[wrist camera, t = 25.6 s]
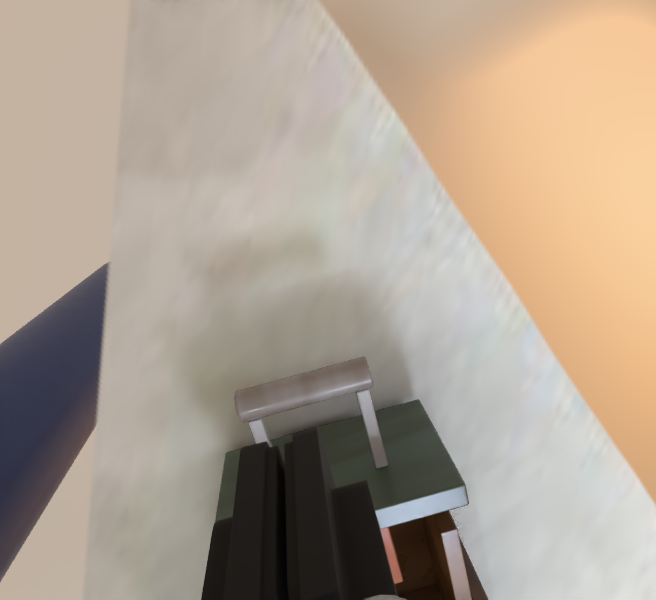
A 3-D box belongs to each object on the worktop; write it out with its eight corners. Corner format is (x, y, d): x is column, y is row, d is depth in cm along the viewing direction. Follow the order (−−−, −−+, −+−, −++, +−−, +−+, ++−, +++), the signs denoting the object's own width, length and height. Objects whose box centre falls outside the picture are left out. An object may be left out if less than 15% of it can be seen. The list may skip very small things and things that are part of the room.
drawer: (191, 364, 26) (161, 447, 19) (399, 307, 26) (444, 369, 19) (289, 618, 32) (293, 749, 26) (456, 571, 33) (504, 688, 26)
